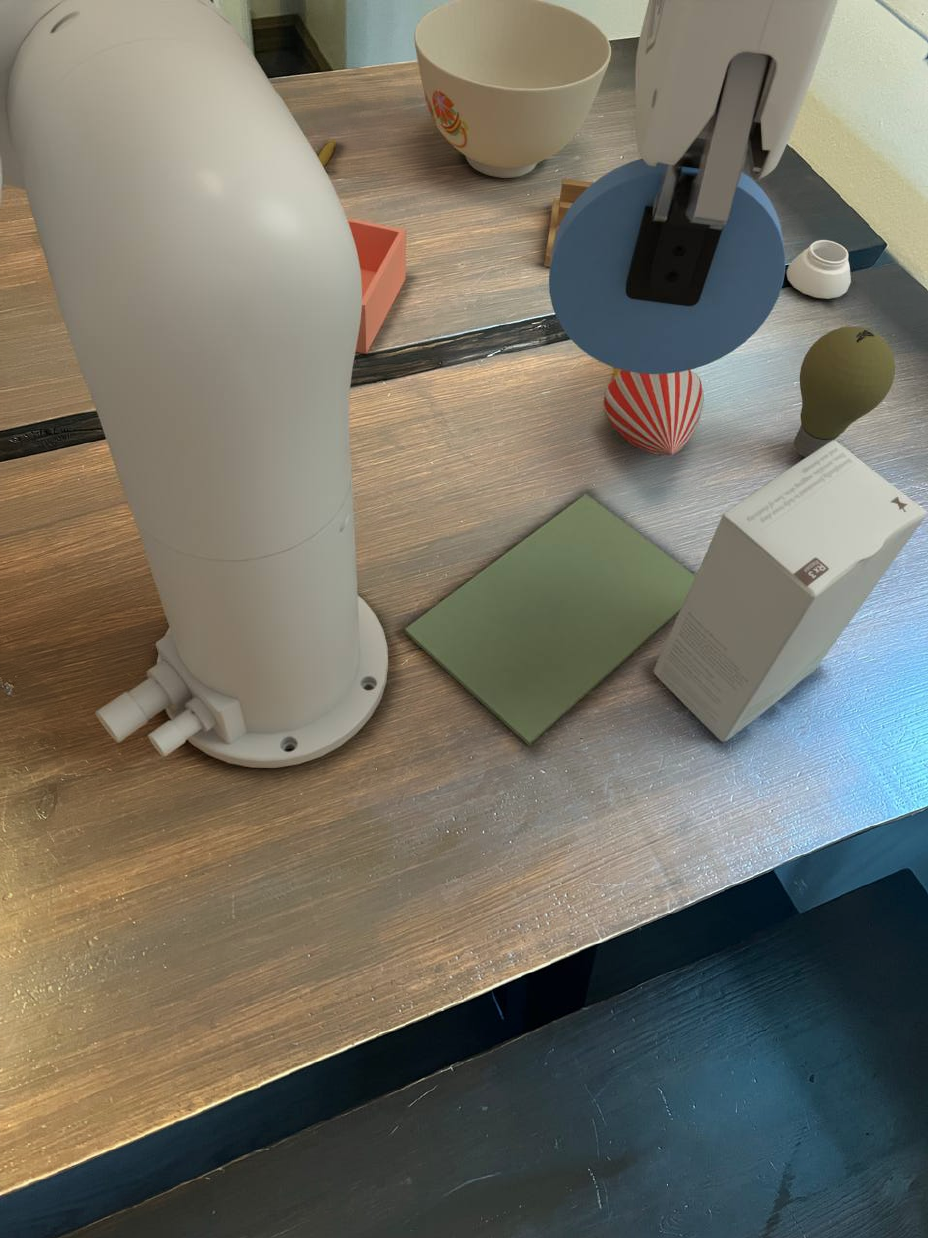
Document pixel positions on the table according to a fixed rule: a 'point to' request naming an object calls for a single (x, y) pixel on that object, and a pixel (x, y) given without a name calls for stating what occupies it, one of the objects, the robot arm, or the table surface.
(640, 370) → the disc
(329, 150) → the dagger
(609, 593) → the mat
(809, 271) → the white jar
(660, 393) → the ice cream cone
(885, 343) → the light bulb
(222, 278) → the robot arm
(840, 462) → the cosmetic box
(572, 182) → the rack
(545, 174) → the table surface
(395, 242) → the red open box
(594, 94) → the bowl
